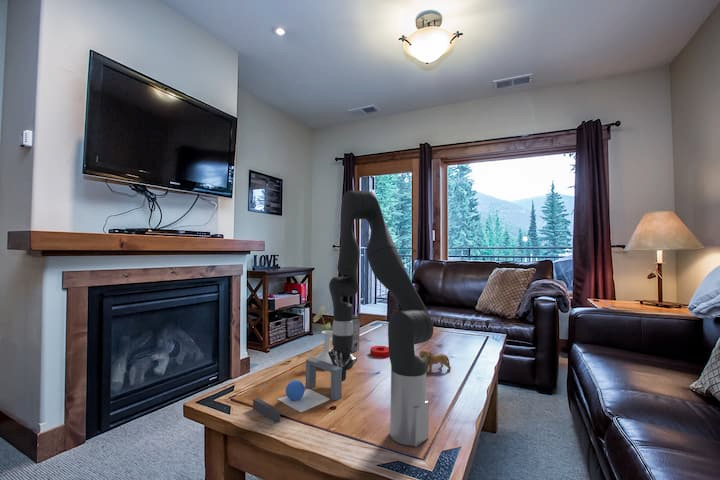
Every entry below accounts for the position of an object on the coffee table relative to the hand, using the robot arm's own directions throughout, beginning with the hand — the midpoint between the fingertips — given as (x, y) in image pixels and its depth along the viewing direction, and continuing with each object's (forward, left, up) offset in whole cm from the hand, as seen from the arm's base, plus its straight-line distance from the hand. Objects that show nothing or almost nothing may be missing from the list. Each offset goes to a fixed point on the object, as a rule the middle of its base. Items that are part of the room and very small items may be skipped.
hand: (341, 380), depth 122 cm
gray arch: (0, +9, -2) cm, 9 cm away
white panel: (0, +17, -2) cm, 17 cm away
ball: (+2, +19, +2) cm, 19 cm away
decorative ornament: (+12, -37, -2) cm, 39 cm away
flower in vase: (+19, -9, -2) cm, 21 cm away
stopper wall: (0, +31, -2) cm, 31 cm away
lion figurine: (-17, -36, -2) cm, 40 cm away
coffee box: (+28, -33, -2) cm, 43 cm away
